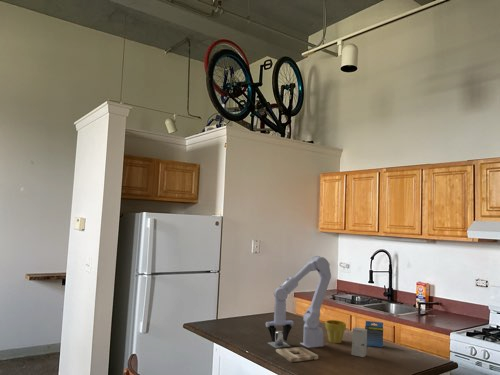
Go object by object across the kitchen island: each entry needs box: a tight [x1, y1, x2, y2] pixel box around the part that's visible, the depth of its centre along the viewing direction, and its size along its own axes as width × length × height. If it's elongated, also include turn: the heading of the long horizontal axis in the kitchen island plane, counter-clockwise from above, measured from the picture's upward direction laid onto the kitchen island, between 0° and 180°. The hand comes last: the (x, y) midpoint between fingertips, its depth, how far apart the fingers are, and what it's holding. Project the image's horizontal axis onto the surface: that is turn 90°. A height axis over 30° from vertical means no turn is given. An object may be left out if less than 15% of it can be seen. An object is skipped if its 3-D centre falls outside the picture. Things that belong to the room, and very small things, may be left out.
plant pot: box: [325, 319, 347, 344], centre depth 217 cm, size 10×10×10 cm
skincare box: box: [351, 326, 367, 358], centre depth 195 cm, size 6×4×12 cm
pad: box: [267, 341, 291, 349], centre depth 206 cm, size 9×9×1 cm
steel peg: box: [275, 330, 284, 346], centre depth 206 cm, size 4×4×6 cm
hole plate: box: [275, 346, 319, 363], centre depth 190 cm, size 14×14×2 cm
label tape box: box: [364, 320, 384, 348], centre depth 212 cm, size 9×4×12 cm, turn 74°
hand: (279, 340), depth 206 cm, fingers open, 6 cm apart
